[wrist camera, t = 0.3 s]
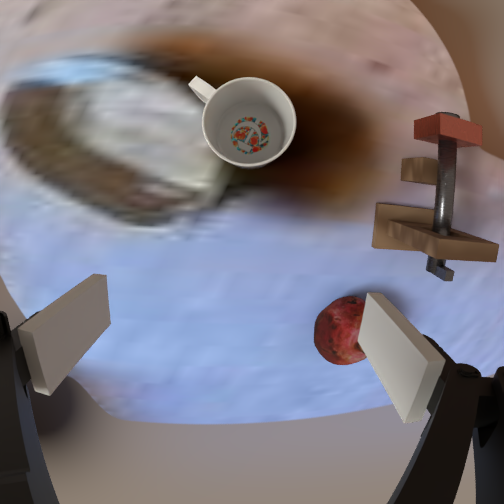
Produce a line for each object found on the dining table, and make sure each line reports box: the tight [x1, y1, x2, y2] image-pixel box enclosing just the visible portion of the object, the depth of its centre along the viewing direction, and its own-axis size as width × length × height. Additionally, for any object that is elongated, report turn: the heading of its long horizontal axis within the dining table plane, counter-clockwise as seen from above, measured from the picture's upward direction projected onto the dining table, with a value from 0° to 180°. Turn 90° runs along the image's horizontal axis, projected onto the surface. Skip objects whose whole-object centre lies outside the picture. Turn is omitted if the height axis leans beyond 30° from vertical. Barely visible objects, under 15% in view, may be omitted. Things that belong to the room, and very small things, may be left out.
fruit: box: [314, 296, 367, 365], centre depth 40 cm, size 9×10×10 cm
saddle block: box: [401, 157, 438, 185], centre depth 37 cm, size 3×5×6 cm, turn 87°
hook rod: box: [414, 112, 482, 281], centre depth 33 cm, size 19×6×7 cm, turn 177°
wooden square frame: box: [372, 203, 499, 262], centre depth 35 cm, size 6×12×14 cm, turn 87°
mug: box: [188, 76, 296, 169], centre depth 34 cm, size 12×9×11 cm
